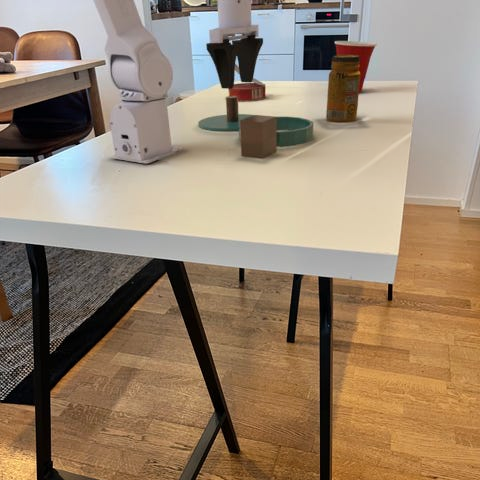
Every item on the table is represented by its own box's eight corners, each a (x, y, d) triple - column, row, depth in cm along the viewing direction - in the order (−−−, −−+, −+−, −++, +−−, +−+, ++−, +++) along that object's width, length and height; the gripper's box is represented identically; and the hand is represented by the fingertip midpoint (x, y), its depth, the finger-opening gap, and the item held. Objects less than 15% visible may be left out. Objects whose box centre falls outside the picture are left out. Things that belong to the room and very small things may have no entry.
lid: (243, 137, 90) (242, 105, 87) (184, 130, 97) (181, 100, 94) (280, 122, 100) (280, 93, 97) (224, 117, 107) (222, 89, 104)
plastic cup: (376, 94, 125) (381, 41, 118) (334, 95, 125) (337, 43, 118) (367, 88, 134) (372, 38, 127) (328, 89, 134) (331, 40, 128)
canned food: (242, 113, 134) (251, 75, 132) (269, 112, 127) (278, 73, 126) (214, 97, 126) (222, 57, 124) (241, 96, 119) (250, 54, 118)
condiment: (354, 118, 101) (359, 53, 94) (364, 127, 94) (371, 57, 87) (319, 120, 101) (322, 55, 94) (326, 128, 94) (331, 59, 87)
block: (262, 162, 76) (262, 122, 72) (241, 159, 77) (240, 120, 74) (276, 155, 79) (276, 116, 75) (255, 152, 81) (255, 114, 77)
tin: (291, 153, 79) (291, 135, 78) (225, 145, 86) (224, 128, 84) (324, 136, 88) (325, 119, 87) (263, 130, 95) (263, 114, 93)
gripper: (234, -4, 74) (238, 92, 82) (273, -5, 85) (273, 80, 92) (195, -2, 77) (202, 90, 85) (238, -4, 88) (241, 79, 95)
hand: (237, 85), depth 89 cm, fingers open, 7 cm apart
